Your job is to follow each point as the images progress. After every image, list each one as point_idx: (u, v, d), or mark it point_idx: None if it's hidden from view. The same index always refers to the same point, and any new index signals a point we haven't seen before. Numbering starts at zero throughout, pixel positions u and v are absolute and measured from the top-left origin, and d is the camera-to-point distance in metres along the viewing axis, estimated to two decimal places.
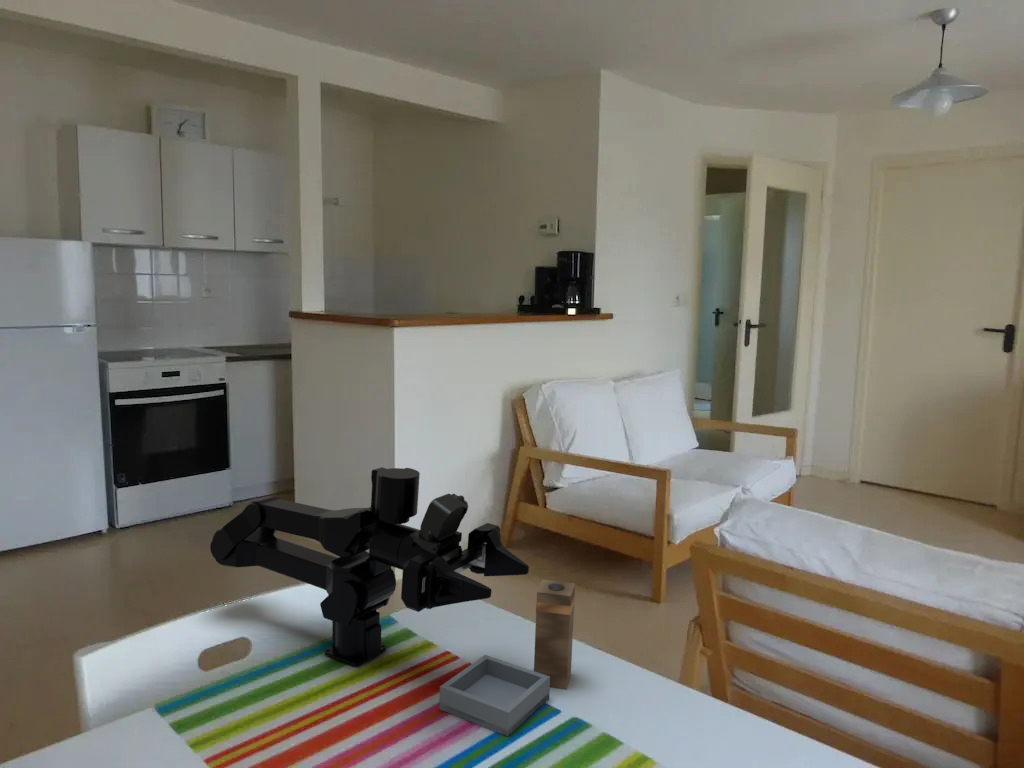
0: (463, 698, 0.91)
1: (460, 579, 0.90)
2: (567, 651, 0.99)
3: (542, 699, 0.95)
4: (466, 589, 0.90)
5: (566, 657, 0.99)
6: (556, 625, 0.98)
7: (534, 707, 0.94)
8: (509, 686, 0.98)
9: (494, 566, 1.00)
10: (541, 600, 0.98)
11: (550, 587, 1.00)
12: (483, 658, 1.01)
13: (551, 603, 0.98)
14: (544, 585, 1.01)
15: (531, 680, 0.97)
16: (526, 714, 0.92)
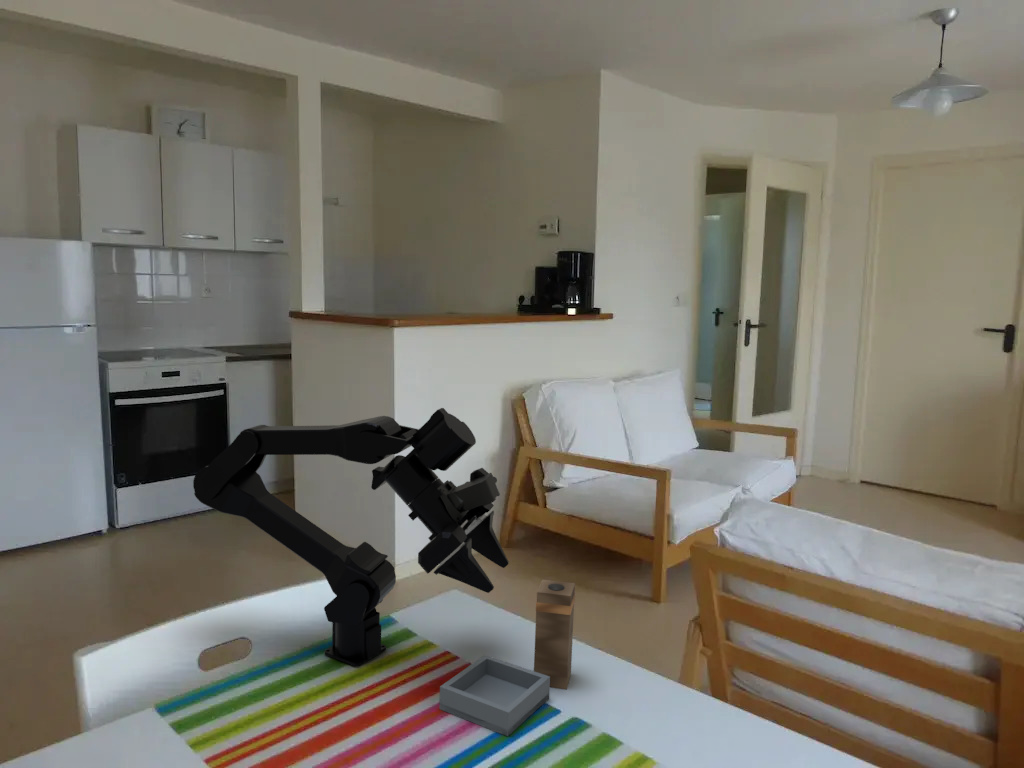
0: (463, 698, 0.91)
1: (476, 567, 0.96)
2: (567, 651, 0.99)
3: (542, 699, 0.95)
4: (475, 576, 0.96)
5: (566, 657, 0.99)
6: (556, 625, 0.98)
7: (534, 707, 0.94)
8: (509, 686, 0.98)
9: (477, 541, 1.07)
10: (541, 600, 0.98)
11: (550, 587, 1.00)
12: (483, 658, 1.01)
13: (551, 603, 0.98)
14: (544, 585, 1.01)
15: (531, 680, 0.97)
16: (526, 714, 0.92)
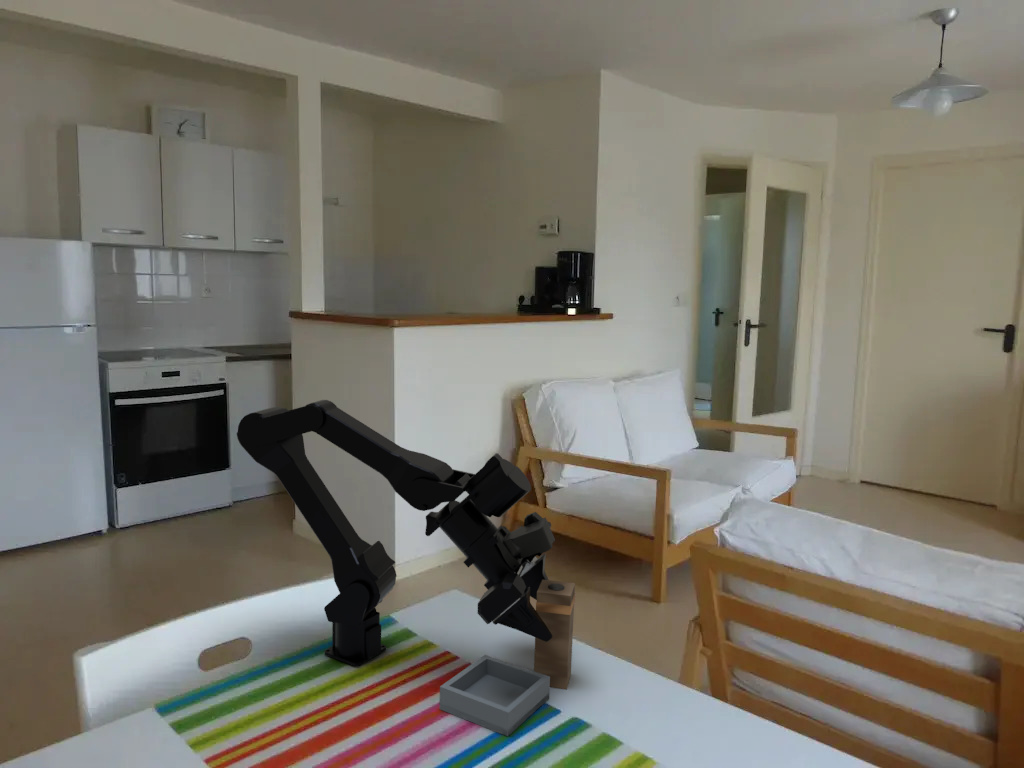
0: (463, 698, 0.91)
1: (535, 616, 0.95)
2: (567, 651, 0.99)
3: (542, 699, 0.95)
4: (534, 626, 0.96)
5: (566, 657, 0.99)
6: (556, 625, 0.98)
7: (534, 707, 0.94)
8: (509, 686, 0.98)
9: (529, 585, 1.06)
10: (541, 600, 0.98)
11: (550, 587, 1.00)
12: (483, 658, 1.01)
13: (551, 603, 0.98)
14: (544, 585, 1.01)
15: (531, 680, 0.97)
16: (526, 714, 0.92)
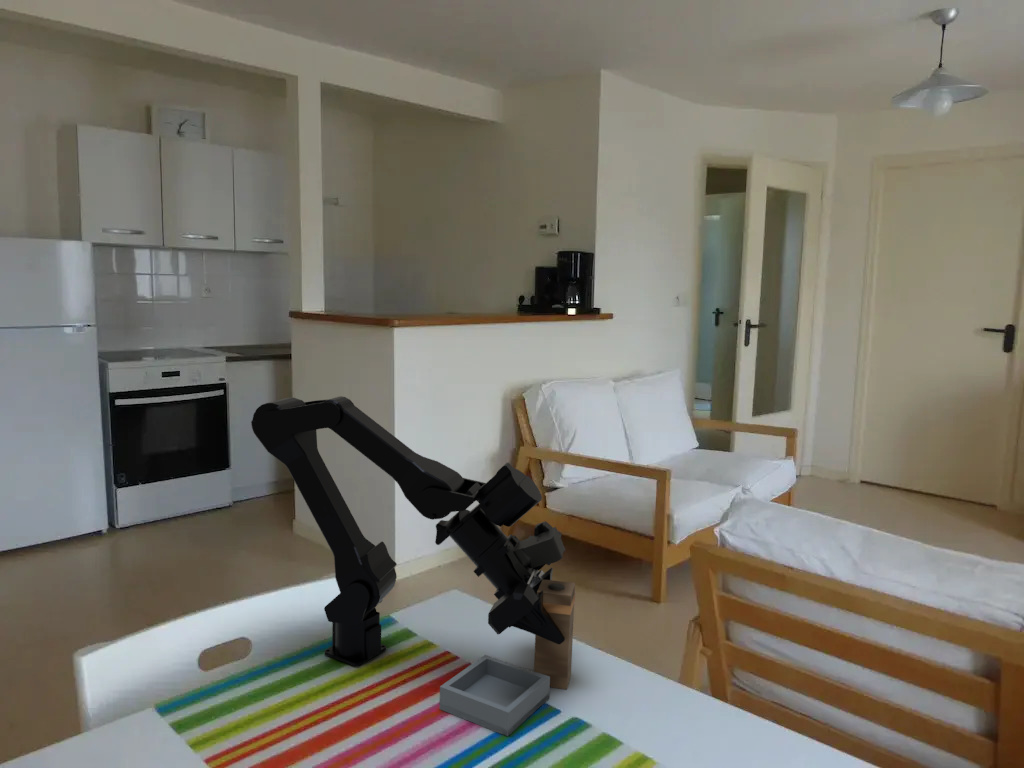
0: (463, 698, 0.91)
1: (548, 619, 0.97)
2: (567, 651, 0.99)
3: (542, 699, 0.95)
4: (547, 629, 0.97)
5: (566, 657, 0.99)
6: None
7: (534, 707, 0.94)
8: (509, 686, 0.98)
9: None
10: None
11: (550, 587, 1.00)
12: (483, 658, 1.01)
13: (551, 603, 0.98)
14: (544, 585, 1.01)
15: (531, 680, 0.97)
16: (526, 714, 0.92)
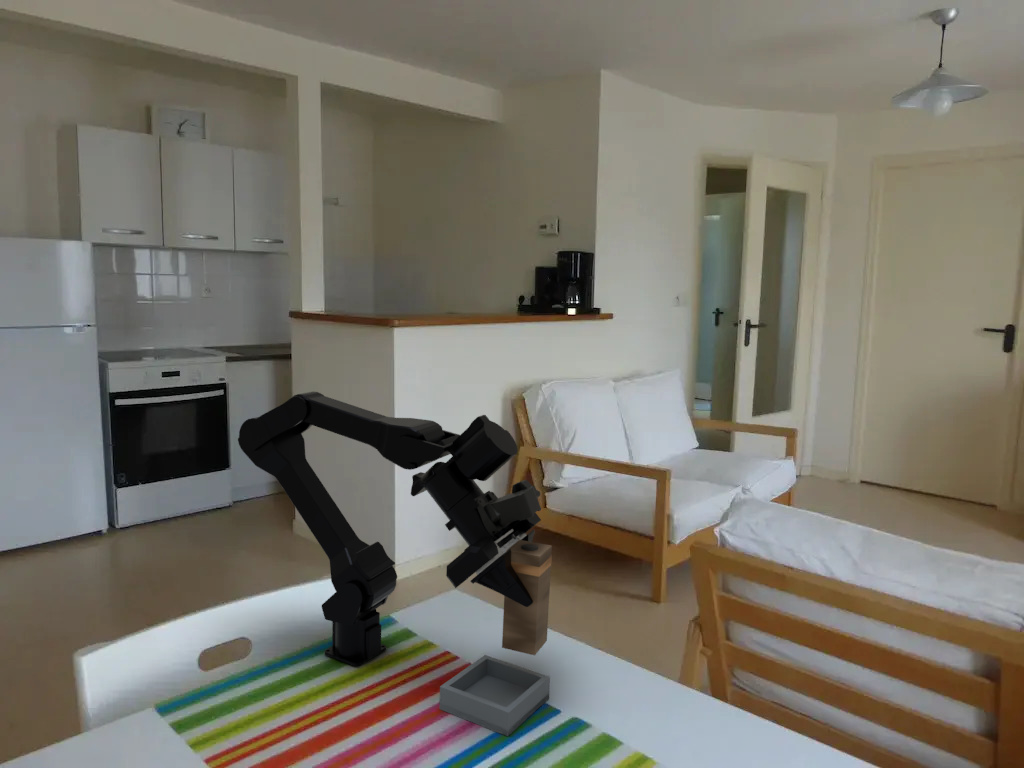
0: (463, 698, 0.91)
1: (515, 579, 0.93)
2: (536, 615, 0.94)
3: (542, 699, 0.95)
4: (513, 589, 0.93)
5: (534, 621, 0.94)
6: (525, 587, 0.94)
7: (534, 707, 0.94)
8: (509, 686, 0.98)
9: None
10: None
11: (522, 547, 0.95)
12: (483, 658, 1.01)
13: (520, 563, 0.94)
14: (518, 545, 0.96)
15: (531, 680, 0.97)
16: (526, 714, 0.92)
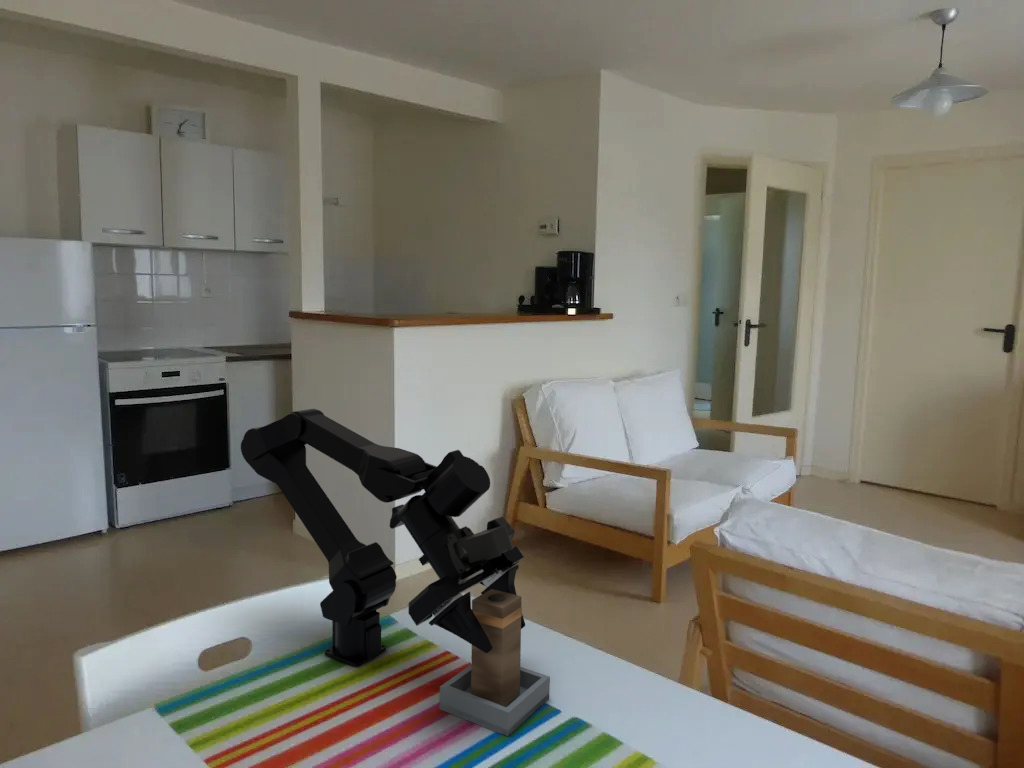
0: (463, 698, 0.91)
1: (473, 624, 0.89)
2: (501, 668, 0.92)
3: (542, 699, 0.95)
4: (472, 634, 0.90)
5: (500, 674, 0.92)
6: (490, 638, 0.92)
7: (534, 707, 0.94)
8: None
9: None
10: (476, 609, 0.93)
11: (490, 597, 0.94)
12: None
13: (485, 614, 0.92)
14: (486, 595, 0.95)
15: (531, 680, 0.97)
16: (526, 714, 0.92)
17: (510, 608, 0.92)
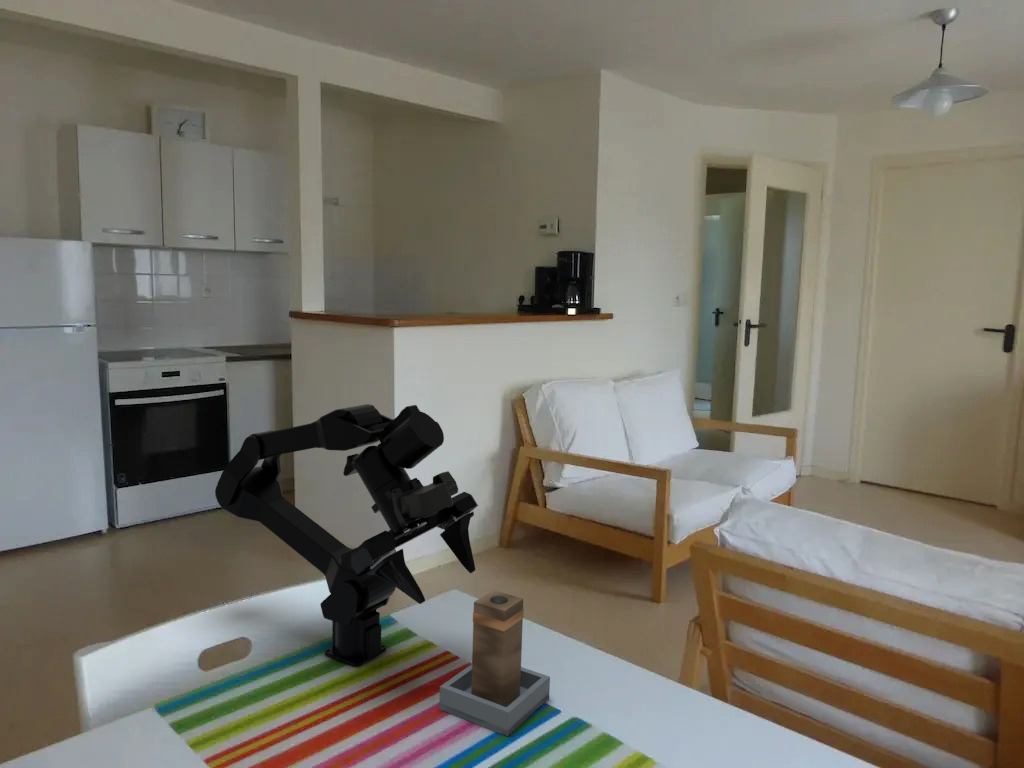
0: (463, 698, 0.91)
1: (405, 578, 0.94)
2: (501, 670, 0.91)
3: (542, 699, 0.95)
4: (405, 586, 0.95)
5: (500, 676, 0.92)
6: (491, 641, 0.92)
7: (534, 707, 0.94)
8: None
9: (451, 540, 1.04)
10: (477, 611, 0.92)
11: (492, 599, 0.93)
12: None
13: (486, 616, 0.92)
14: (488, 596, 0.94)
15: (531, 680, 0.97)
16: (526, 714, 0.92)
17: (512, 611, 0.92)
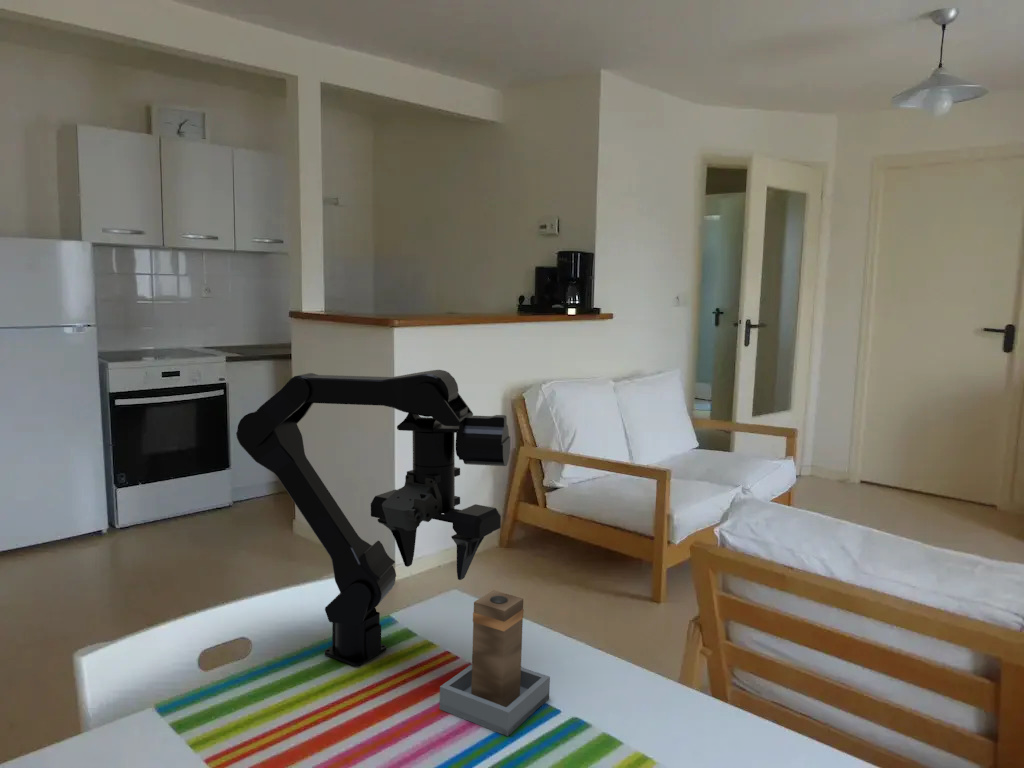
0: (463, 698, 0.91)
1: (396, 542, 1.06)
2: (501, 670, 0.91)
3: (542, 699, 0.95)
4: None
5: (500, 676, 0.92)
6: (491, 641, 0.92)
7: (534, 707, 0.94)
8: None
9: None
10: (477, 611, 0.92)
11: (492, 599, 0.93)
12: None
13: (486, 616, 0.92)
14: (488, 596, 0.94)
15: (531, 680, 0.97)
16: (526, 714, 0.92)
17: (512, 611, 0.92)
